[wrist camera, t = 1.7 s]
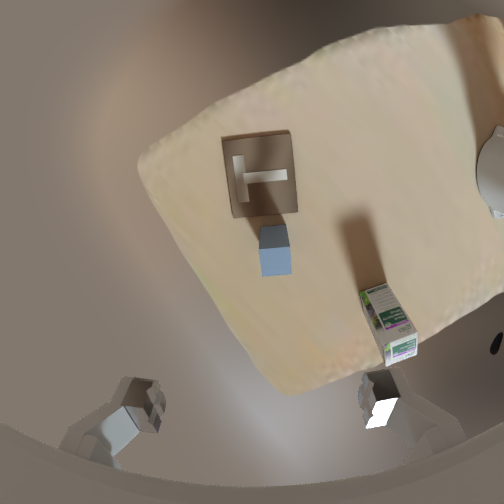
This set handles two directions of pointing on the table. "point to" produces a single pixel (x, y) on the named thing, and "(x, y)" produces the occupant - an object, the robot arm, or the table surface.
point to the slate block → (274, 250)
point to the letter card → (261, 175)
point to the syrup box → (389, 324)
